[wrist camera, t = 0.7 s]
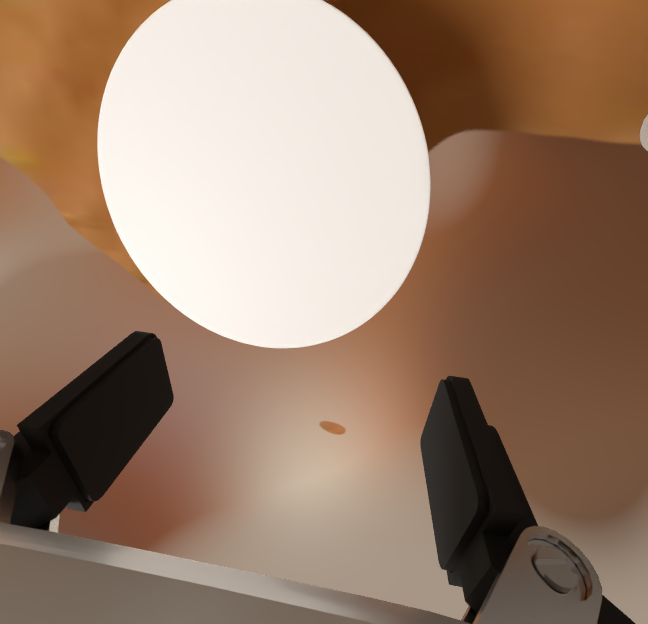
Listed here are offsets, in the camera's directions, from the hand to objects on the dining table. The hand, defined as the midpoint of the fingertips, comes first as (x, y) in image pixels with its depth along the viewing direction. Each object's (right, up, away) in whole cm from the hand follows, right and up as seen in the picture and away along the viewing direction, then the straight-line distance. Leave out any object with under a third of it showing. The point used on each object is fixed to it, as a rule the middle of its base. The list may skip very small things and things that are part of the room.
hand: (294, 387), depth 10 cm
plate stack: (-3, +16, +26) cm, 31 cm away
